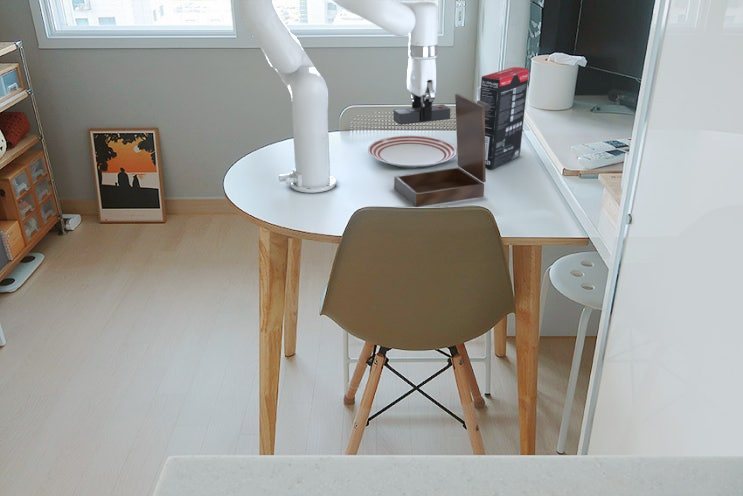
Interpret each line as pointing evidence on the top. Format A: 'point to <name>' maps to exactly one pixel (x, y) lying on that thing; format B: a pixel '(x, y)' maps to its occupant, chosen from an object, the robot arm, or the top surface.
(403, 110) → the block
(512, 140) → the graphics card box
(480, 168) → the lid
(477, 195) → the box
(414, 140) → the dinner plate
